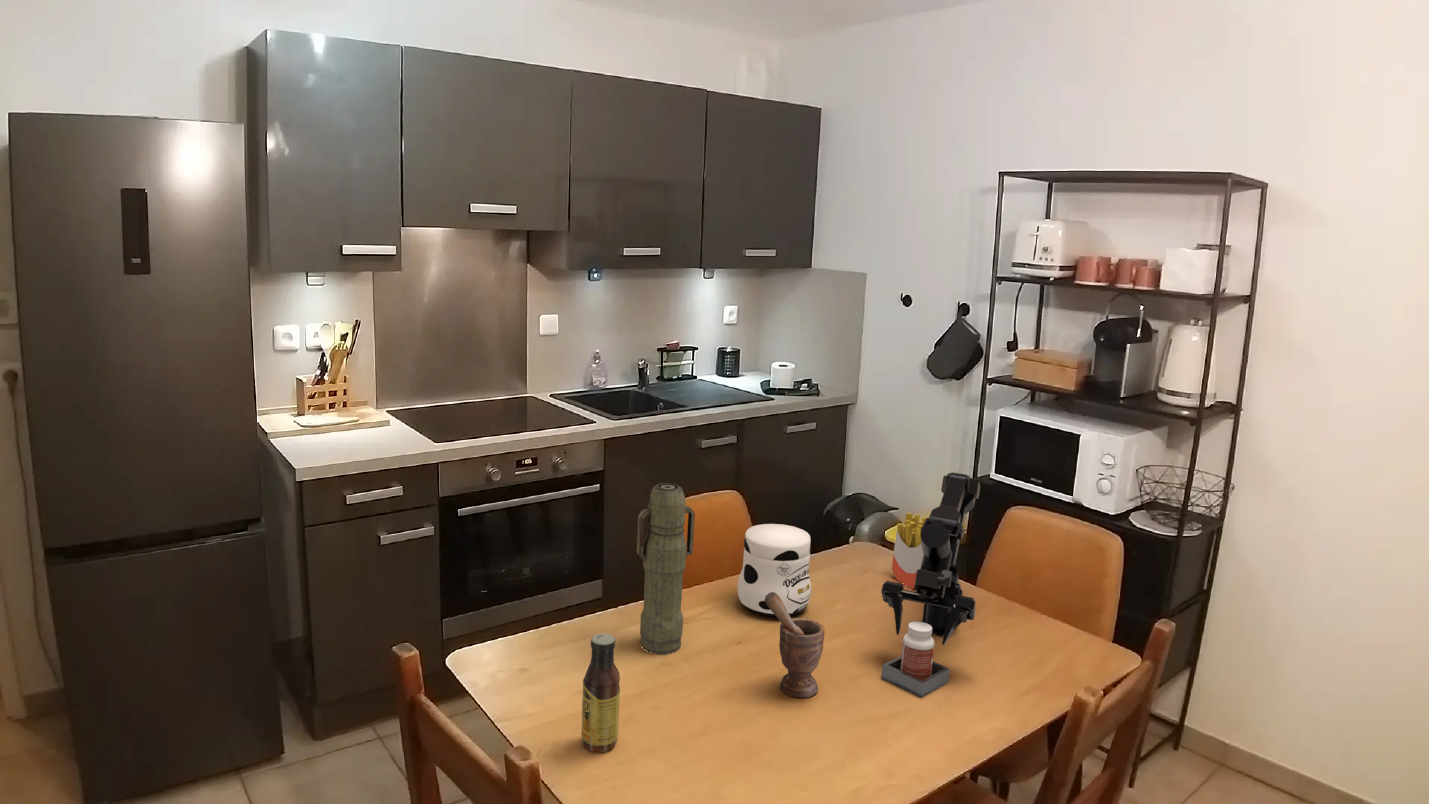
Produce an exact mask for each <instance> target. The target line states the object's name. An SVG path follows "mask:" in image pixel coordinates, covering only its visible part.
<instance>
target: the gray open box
mask: <svg viewBox="0 0 1429 804" xmlns="http://www.w3.org/2000/svg"><path fill="white" fill-rule="evenodd" d="M901 657H902V654H901V655H899V656H897V657H895V658H893V659H891V660H889V661H887V662H885V663H883V664H882V666H881V676H880V679H882V680H884V681H886V682H888V683H890V684H892V685H894V686H896V687H899V688H901V689H903V690H904V691H906V692H908V693H911V694H913V695H915V696H917V697H919V698H924V697H925V696H927V695H928V694H930V693H932V692H934V691H936V690H938V689H940V688H942V687H943V686H945V685H947V684H948V683H949V681H950V680H949V679H950V671H951V668H949V667H947V666H946V665H945V666H944V665H942V664H940V663H938V662H936V661H933V664H932V674H931V676H930V677H928V678H926V679H924V680H922V681H921V680H919V679H917V678H915V677H913V676H911V675H909V674H906V673H904V672H902V671H900V668H901Z"/></svg>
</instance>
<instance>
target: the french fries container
mask: <svg viewBox="0 0 1429 804" xmlns="http://www.w3.org/2000/svg"><path fill="white" fill-rule="evenodd" d="M920 516H921V515H920V514H919V513H918V514H916V513H915V516H913V513H912V512H906V513H905V522H902V523H896V526H897V528H896V534H895V541H894V548H893V555H892V563H891V564H892V565H891V570H892V573H893V574H894V576H895V578H896V580H898V581H900V582H901V584H902V583H904V584H905V585H907V586H909V587H910V588H909V587H908V588H909V589H911V588H912V589H911V590H915V589H914V585H915V579H916V573H917V569H919V570H920V569H921V564H922V559H923V555H924V553H923V550H922V544H921V537H920V535H921V529H922V526H923V524H924V522H925V520H926V518H927V517H922V521H920ZM898 581H897V582H898ZM900 582H899V583H900ZM905 585H904V586H905ZM907 586H906V587H907Z"/></svg>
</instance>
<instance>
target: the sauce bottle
mask: <svg viewBox="0 0 1429 804" xmlns="http://www.w3.org/2000/svg"><path fill="white" fill-rule="evenodd" d="M590 648H591V655H590V657H591V658H590V662H589V664H588V668H587V670H586V672H585V674H584V677H583V679H582V704H581V705H582V706H581V740H582V741H581V742H582V745H583V747H584V748H585V749H586V750H587V751H589V752H595V753H605V752H609V751H611V750H613V749H614V748H615V746H616V744H617V743H618V737H619V720H620V719H619V717H620V698H621V696H620V695H621V690H620V689H621V687H620V682H621V678H620V677H621V675H620V672H619V669H618V668H617V666H616V665H615V657H614V656H615V654H614V652H615V648H616V638H615V636H614V635H612V634H611V633H604V632H603V633H597V634H595V635H593V636H592V637H591V639H590Z"/></svg>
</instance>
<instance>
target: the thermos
mask: <svg viewBox="0 0 1429 804" xmlns="http://www.w3.org/2000/svg"><path fill="white" fill-rule="evenodd" d="M684 493H685V492H684V491H683V488H682V487H681V486H679V485H678V484H675V483H668V482H667V483H665V482H664V483H658V484H656V485H655V486H654V485H653V488H652V489H651V492H650V495H649V498H648V505H647V508H643V509H642V510H641V511H640V512H639V514H638V516H637V532H636V533H637V534H636V537H637V538H636V554H637V555H638V557H640V558H641V559H642V560H643V561H642V566H643V569H644V587H643V588H644V591H643V593H644V594H643V609H642V610H641V613H640V623H639V625H640V626H639V627H640V628H639V634H640V643H639V644H641V645H640V647H641V646H642V647H643V649H645V650H647V651H648V652H647V651H646V652H647V653H649V652H652V653H651V654H653V653H657V654H656V655H669V654H668V653H670V654H673V653H672V652H674V653H676V652H678V651H679V650H681V646H682V636H683V629H684V615H683V612H682V599H683V598H682V596H683V595H682V594H683V593H682V592H683V577H684V576H683V575H684V574H683V573H684V571H685V568H686V562H687V560H686V559H688V556H690V555H692V554H693V550H694V537H695V536H694V535H695V534H694V533H695V520H696V519H695V516H696V515H695V511H693V509H692V508H691V507H690V506H689V505H687V504H686V499H685V498H686V497H685V494H684ZM686 515H687V530H686V531H687V534H686V535H687V536H686V538H685V529H684V526H685V522H686V521H685V520H686ZM646 517H647V523H648V527H647V532H646V536H645V520H646ZM644 537H645V538H644ZM643 649H642V650H643ZM645 650H644V651H645ZM677 650H678V651H677Z"/></svg>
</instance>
